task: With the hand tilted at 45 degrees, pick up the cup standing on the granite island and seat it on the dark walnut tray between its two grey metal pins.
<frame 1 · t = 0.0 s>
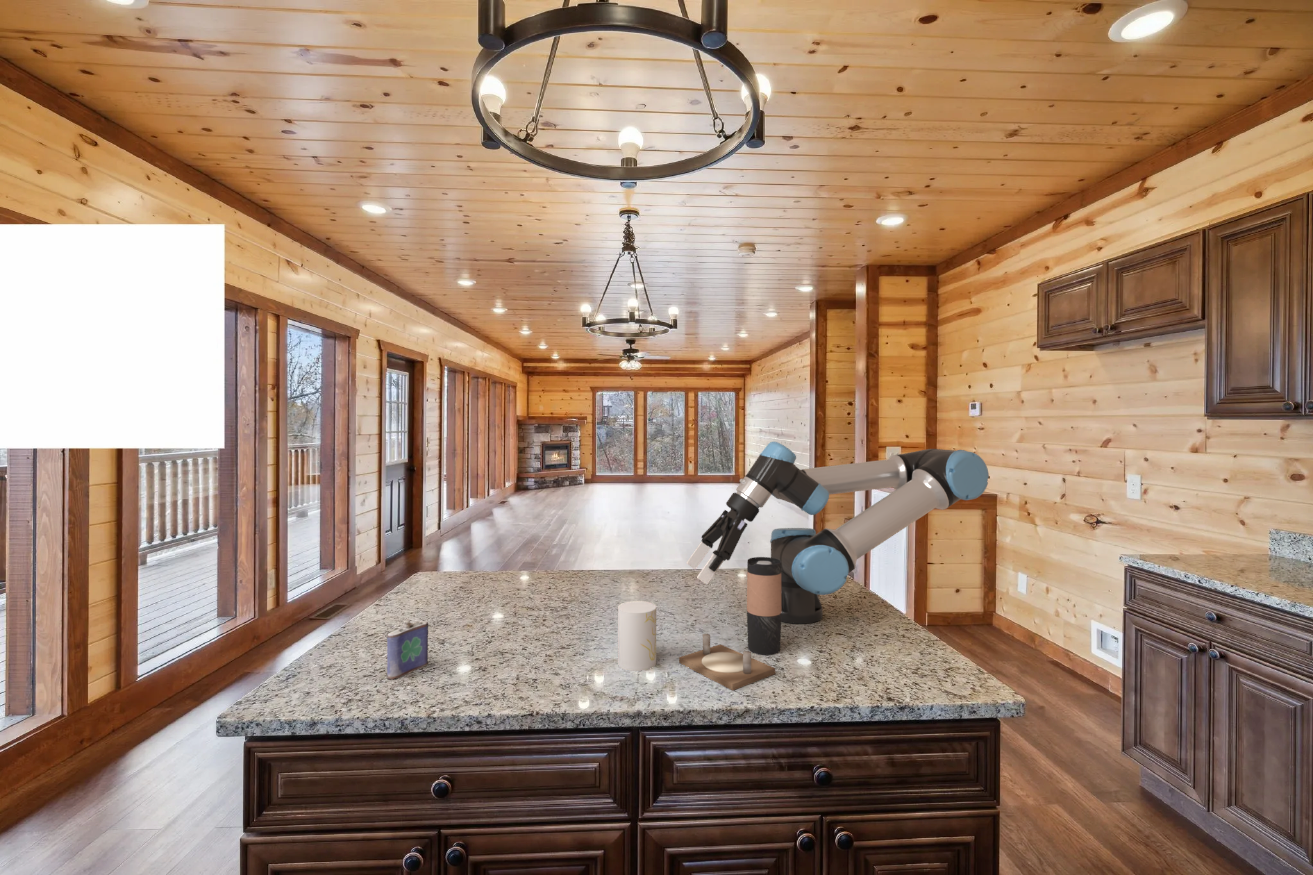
hand: (695, 573, 136), 15 cm above the worktop, tool tilted 35°, fingers open, 13 cm apart
travel mug: (763, 649, 129), on the worktop
cup: (637, 663, 122), on the worktop
flask: (407, 671, 118), on the worktop
tray: (725, 668, 119), on the worktop
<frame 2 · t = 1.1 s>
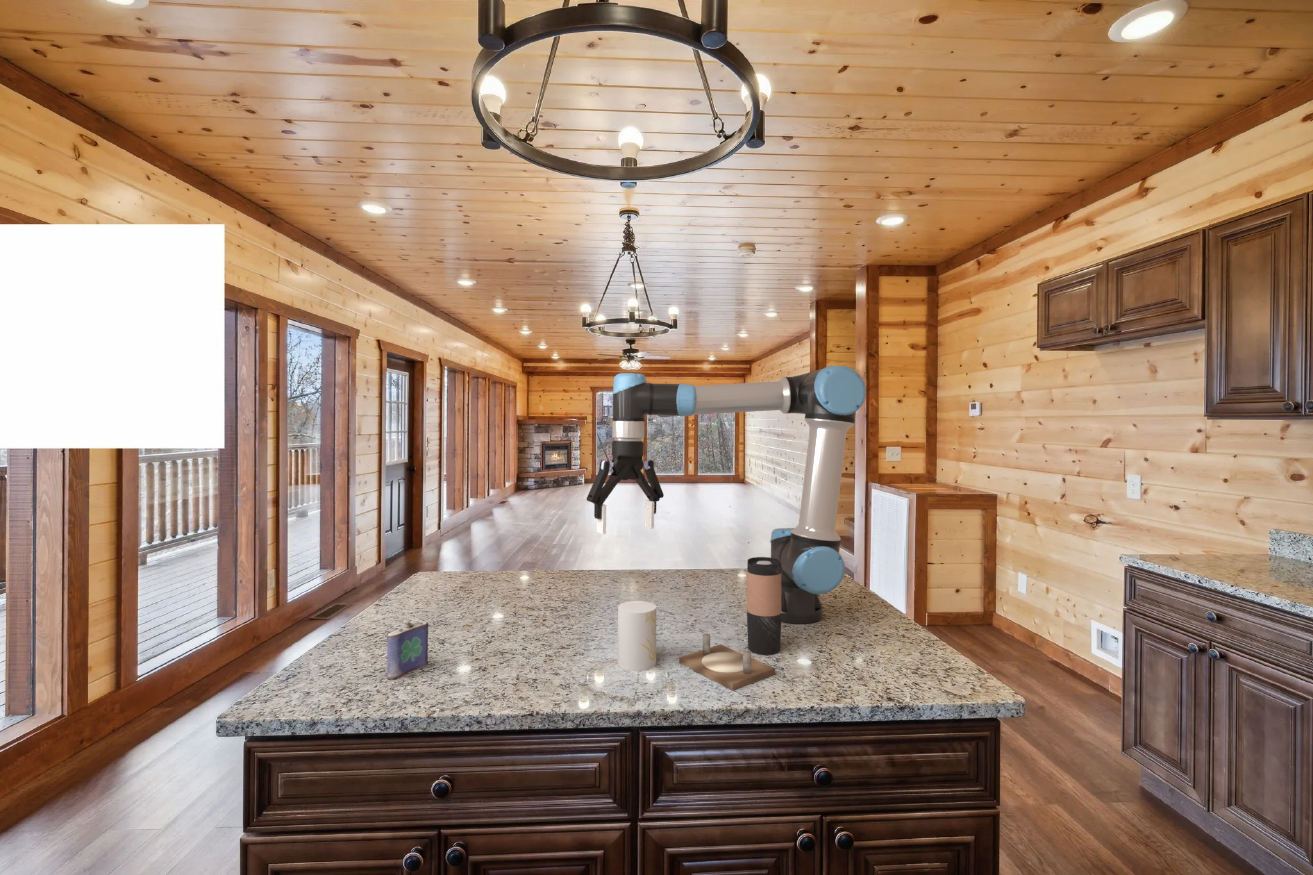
hand: (625, 530, 135), 26 cm above the worktop, tool pointing down, fingers open, 13 cm apart
nothing on the worktop moved.
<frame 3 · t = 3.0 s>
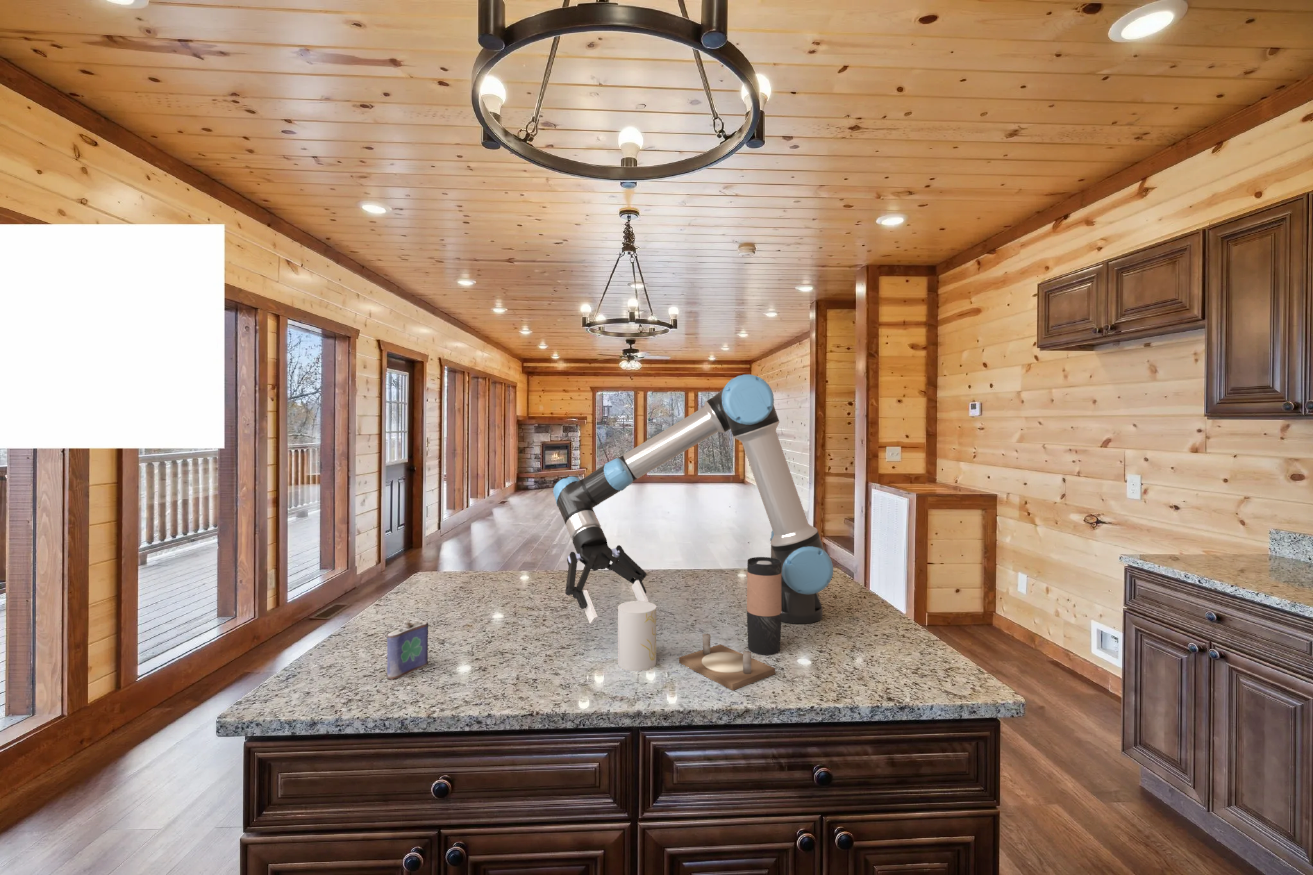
hand: (621, 614, 125), 9 cm above the worktop, tool tilted 45°, fingers open, 13 cm apart
nothing on the worktop moved.
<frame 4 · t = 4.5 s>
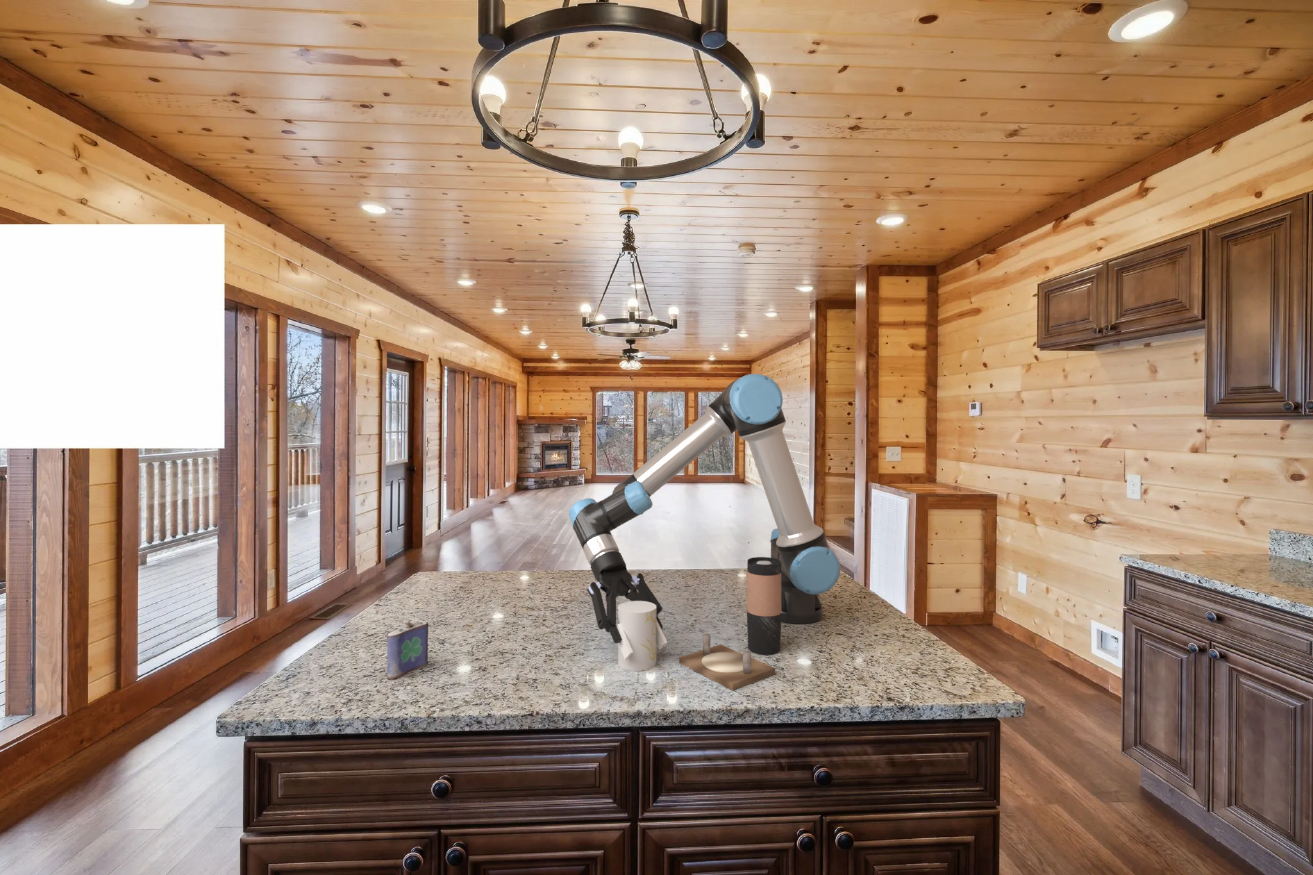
hand: (646, 650, 119), 4 cm above the worktop, tool tilted 45°, fingers closed on cup, 8 cm apart
cup: (637, 663, 122), on the worktop, touching gripper
everything else where it was.
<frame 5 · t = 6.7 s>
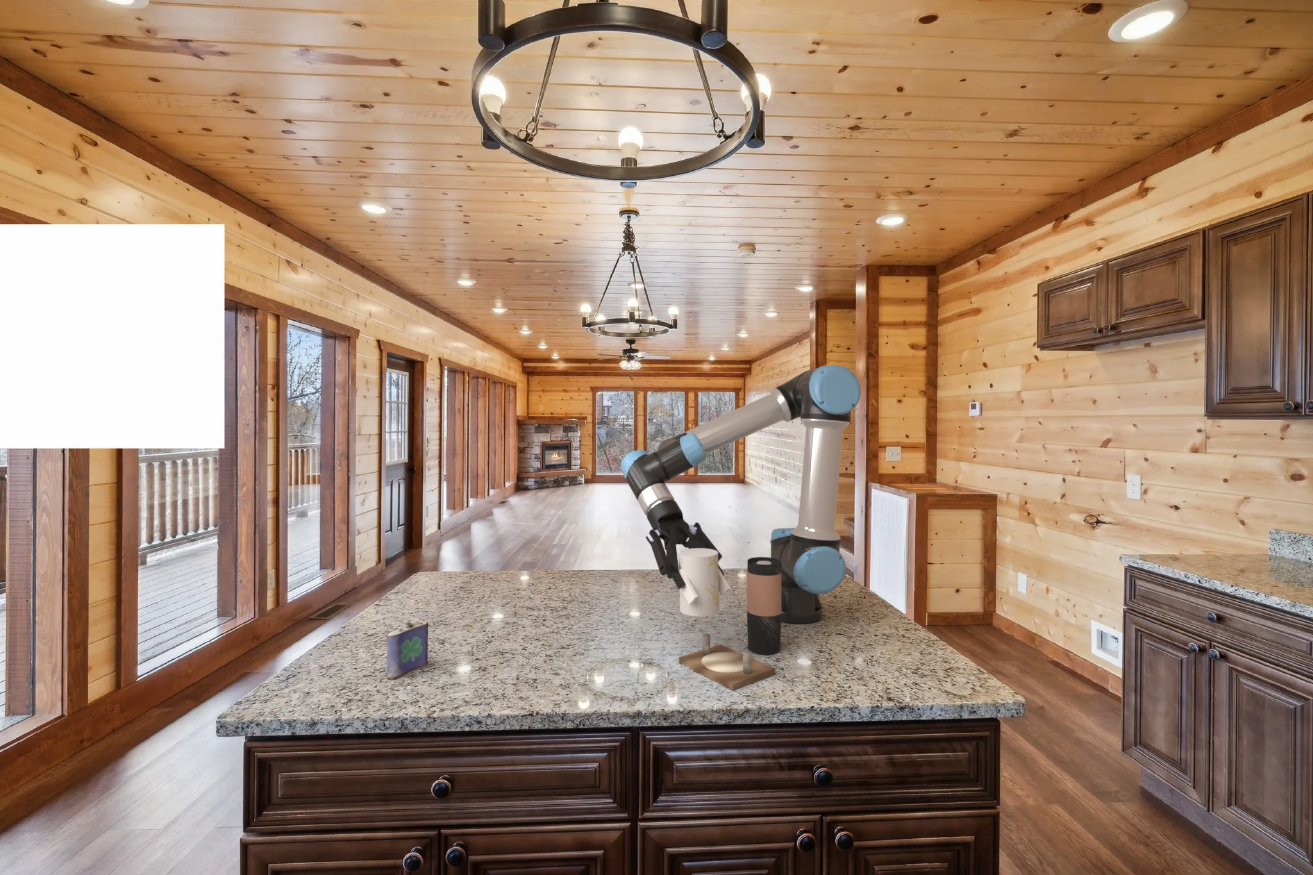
hand: (710, 596, 117), 16 cm above the worktop, tool tilted 45°, fingers closed on cup, 8 cm apart
cup: (699, 610, 119), point 12 cm above the worktop, touching gripper
everything else where it was.
when the fingers open (7 cm above the worktop, at t = 9.2 s): cup drops 2 cm, resting on tray.
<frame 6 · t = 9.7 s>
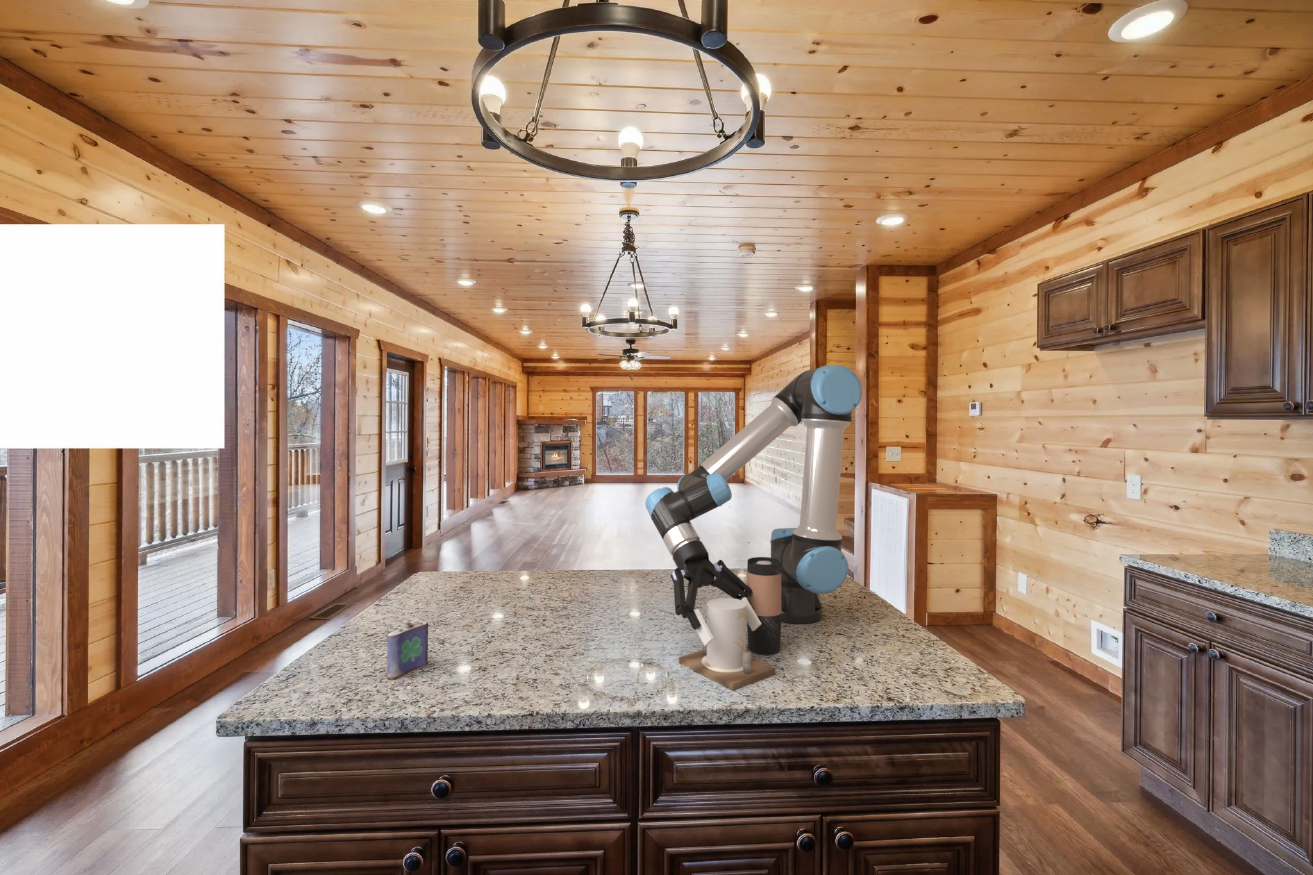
hand: (734, 634, 117), 8 cm above the worktop, tool tilted 45°, fingers open, 13 cm apart
cup: (726, 662, 119), point 1 cm above the worktop, touching tray
everything else where it was.
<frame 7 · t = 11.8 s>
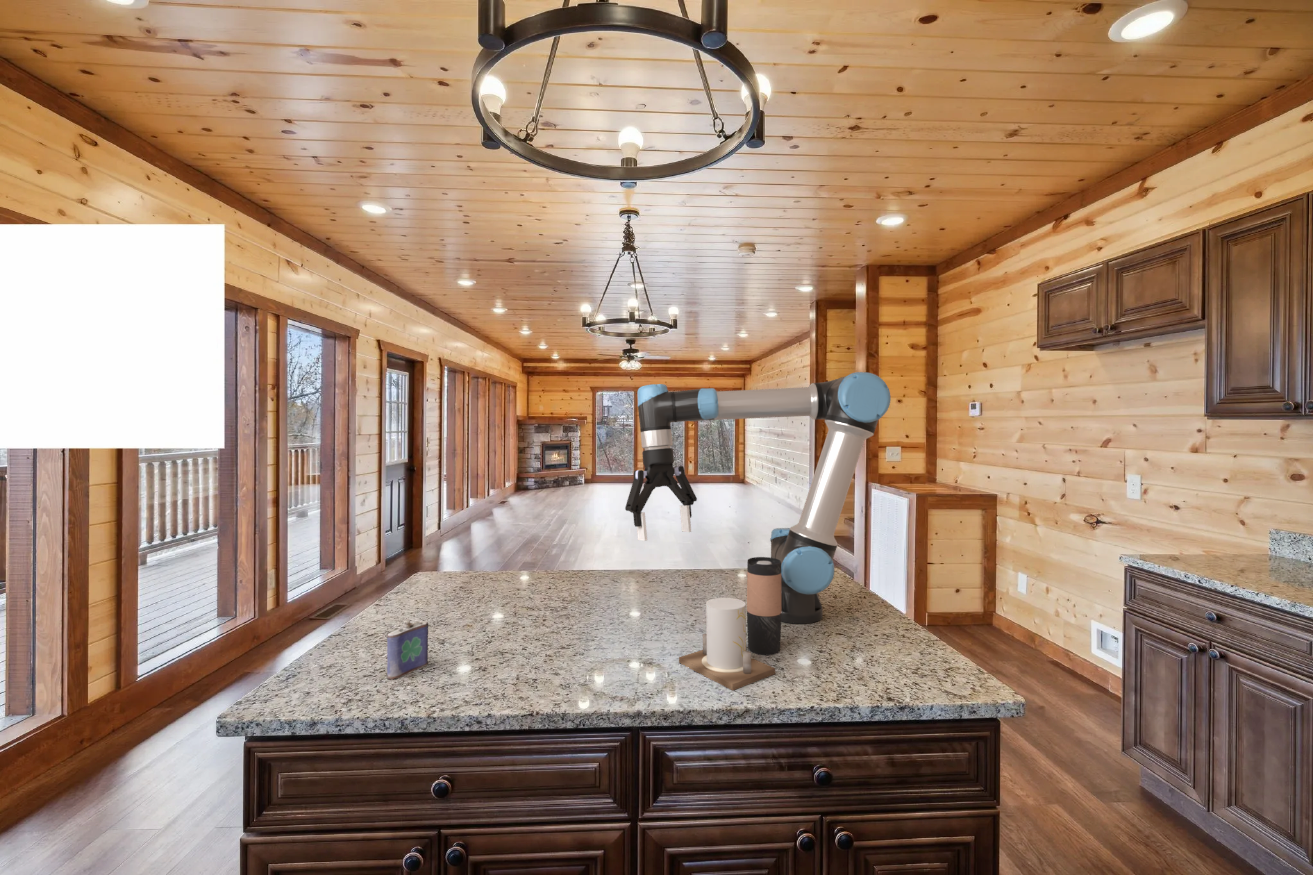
hand: (665, 536, 139), 24 cm above the worktop, tool pointing down, fingers open, 13 cm apart
nothing on the worktop moved.
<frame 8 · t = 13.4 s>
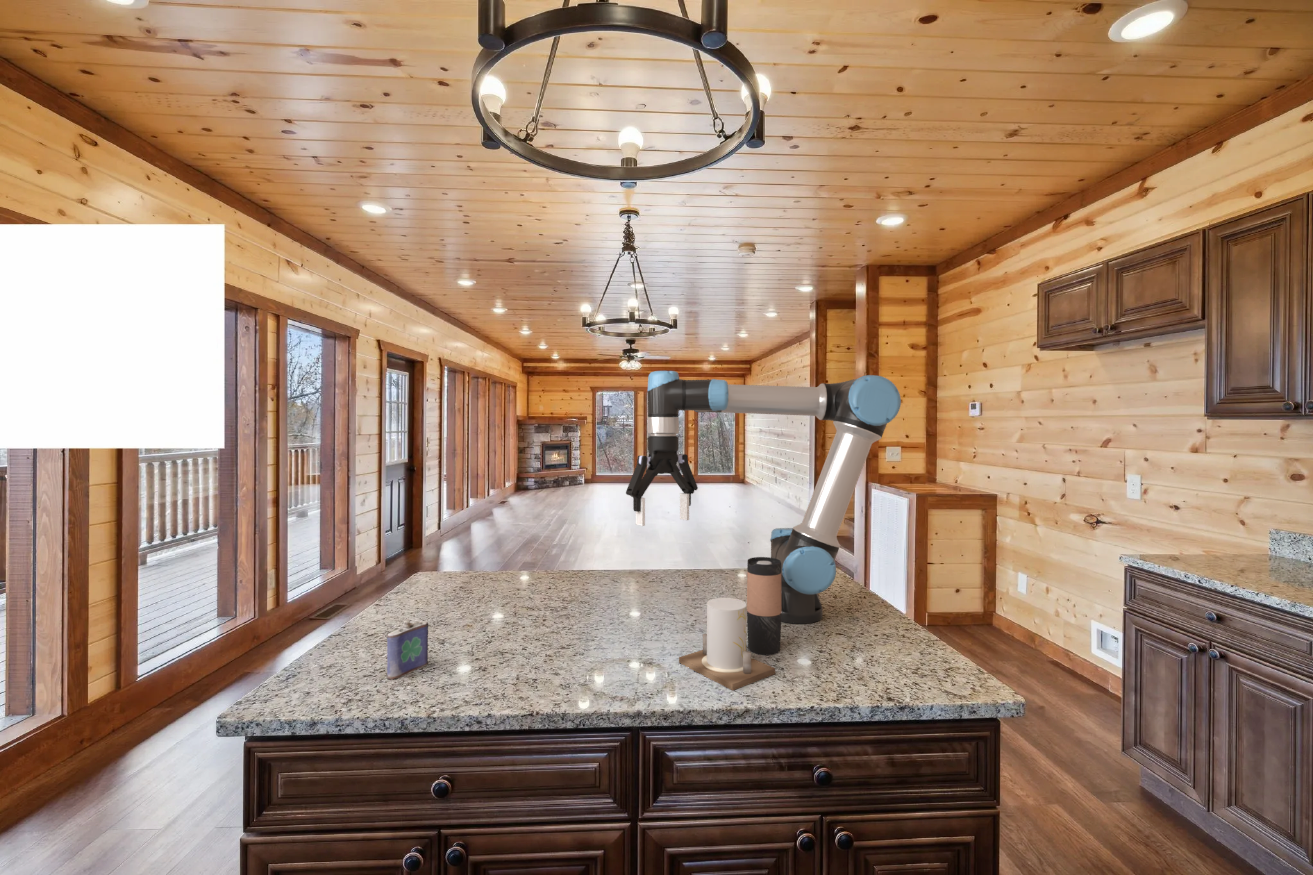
hand: (663, 522, 140), 27 cm above the worktop, tool pointing down, fingers open, 13 cm apart
nothing on the worktop moved.
at the end: cup inside the target area on the tray (0.3 cm from its centre), point 1.3 cm above the tray's base; cup tilted 1°; the gripper is holding nothing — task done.
